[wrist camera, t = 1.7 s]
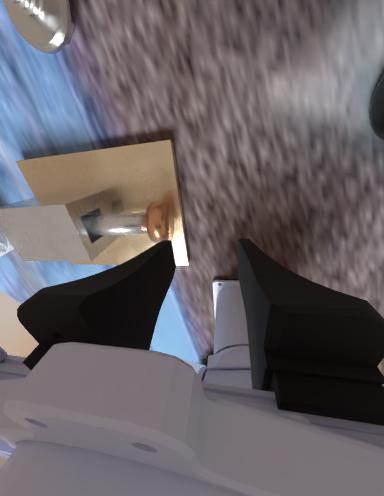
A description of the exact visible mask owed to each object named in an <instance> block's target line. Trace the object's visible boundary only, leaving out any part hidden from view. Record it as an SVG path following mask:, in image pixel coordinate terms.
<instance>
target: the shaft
mask: <svg viewBox="0 0 384 496" xmlns="http://www.w3.org/2000/svg"><path fill="white" fill-rule="evenodd" d="M80 218H81V220H82V223H83V225H84V227H85V229H86V232H87V234H88V236H95V235H129V234H148V236H149V238H150V240H151V241H152V242H154V243H159V242H161V241H163V240H172V239H173V235H174V215H173V210H172V207H171V205H170V203H169V202H167V201H166V202H152V203H150V204H149V205H148V207H147V210H146V212H140V213H122V214H104V215H86V216H81V217H80Z"/></svg>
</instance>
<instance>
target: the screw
mask: <svg viewBox="0 0 384 496" xmlns="http://www.w3.org/2000/svg"><path fill="white" fill-rule="evenodd" d="M3 1H4V4H5V7H6V10H7V12H8V15H9V17H10V19H11V21H12V23H13V24H14V26H15V28H16V29H17V31H18V32H19V33H20V35H21V36H22V37H23V38H24V39H25V40H26V41H27V42H28V43H29V44H30V45H31V46H33V47H34V48H36V49H37V50H39V51H42V52H44V53H49V54H53V53H57V52H59V51H60V50H62V49H63V47H64V46H65V45H66V44H69V41H70V38H71V35H72V32H73V29H74V26H75V24H74V22H73V19H72V17H71V14H70V5H69V1H68V0H3Z"/></svg>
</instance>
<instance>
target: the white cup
mask: <svg viewBox="0 0 384 496" xmlns="http://www.w3.org/2000/svg"><path fill="white" fill-rule="evenodd" d="M13 249H14V247H13V246H12V244H11V243H10V241H9V240H8V239H7V237H6V236H5V234H4V233H3V231H2V230H1V229H0V257H2V256H3V255H4V254H6V253H8V252H9V251H11V250H13Z"/></svg>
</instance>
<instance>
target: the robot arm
mask: <svg viewBox="0 0 384 496" xmlns="http://www.w3.org/2000/svg"><path fill="white" fill-rule="evenodd" d="M175 268H176V262H175V257H174V251H173V246H172V240H163V241H161V242H159V243H157V244H155V245H154V246H152V247H150V248H149V249H147V250H145V251H144V252H142V253H140V254H139V255H137V256H135V257H133V258H132V259H130V260H128V261H126V262H124V263H122V264H120V265H118V266H115V267H113V268H111V269H108V270H106V271H103V272H100V273H98V274H95V275H92V276H89V277H86V278H82V279H79V280H75V281H72V282H68V283H63V284H59V285H55V286H50V287H46V288H43V289H41V290H39V291H38V292H37V293H35V294H34V295H33V296H32V297H30V298H29V299H28V300H26V301H25V302H24V303H23V304H21V305H20V306H19V308H18V309H17V316H18V319H19V321H20V322H21V324H22V325H23V326H24V327H25V329H26V330H27V331H28V332H29V333H30V334H31V335H32V336H33V337H34V339H35V340H36V341H37V342H38V343H39V345H38V346H37V347H36V348H35V349H34V350H33V352H32V353H31V354H30V355H29V356H28V357H27V358H26V357H18V356H12V355H7V353H6V352H5V350H3V349H2V348H1V347H0V456H2V457H6V458H8V460H7V461H6V462H5V464H4V465H3V467H2V468H1V470H0V496H384V387H383V386H382V384H384V376H383V375H382V373H381V372H380V370H379V369H378V367H377V366H378V364H379V363H380V362H381V361H382V359H383V358H384V318H383V317H382V316H381V315H380V314H379V313H378V312H377V311H376V310H375V309H374V308H373V307H372V306H371V305H370V304H369V303H368V302H367V301H366V300H363V299H360V298H357V297H353V296H350V295H347V294H344V293H341V292H338V291H335V290H332V289H330V288H327V287H325V286H322V285H319V284H317V283H315V282H312V281H310V280H308V279H306V278H304V277H302V276H299V275H297V274H295V273H294V272H292V271H290V270H288V269H287V268H285V267H283V266H282V265H280V264H278V263H277V262H275V261H274V260H273V259H271V258H270V257H269V256H267V255H266V254H265V253H264V252H263V251H261V250H260V249H259V248H258V247H257V246H256V245H255V244H254V243H253V242H252V241H251V240H250V239H238V278H239V280H214V281H213V299H214V316H215V338H214V355H209V356H208V365H207V367H202V368H201V369H200V370H199V372H198V374H197V373H196V372H195V370H194V369H193V367H192V366H191V365H189V364H188V363H186V362H184V361H183V360H181V359H179V358H178V357H176V356H172V355H169V354H165V353H161V352H157V351H150V350H149V348H150V344H151V340H152V336H153V333H154V329H155V325H156V322H157V318H158V315H159V311H160V309H161V306H162V303H163V301H164V299H165V296H166V294H167V291H168V289H169V287H170V284H171V282H172V279H173V276H174V272H175ZM219 283H221V284H219Z"/></svg>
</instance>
